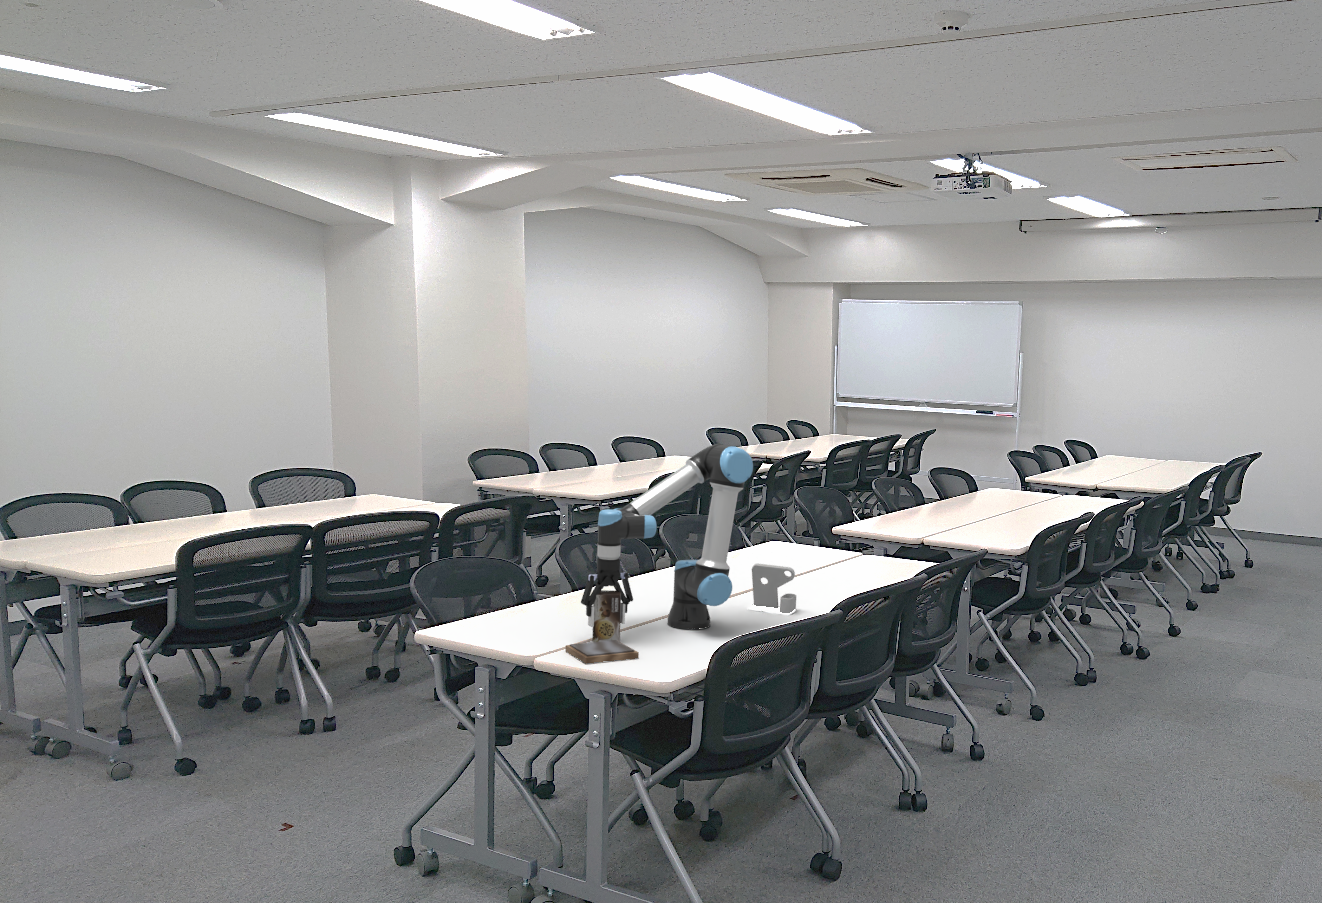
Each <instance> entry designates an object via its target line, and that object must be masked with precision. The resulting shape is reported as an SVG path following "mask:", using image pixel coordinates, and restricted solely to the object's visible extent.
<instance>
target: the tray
mask: <svg viewBox="0 0 1322 903" xmlns="http://www.w3.org/2000/svg"><path fill="white" fill-rule="evenodd" d="M565 651H566V652H565V653H567V652H568V653H569V655H570V654H571V655H570V656H572V655H573V656H575V657H576V658H578V659H580V660H581V661H583V662H584V663H593V664H595V663H594V662H602V663H604V662H603V661H612V662H615V661H614V660H621V661H627V660H626V659H630V660H636V659H635V658H638V659H639V655H640V654H639V651H637V650H635V648H634V649H633V648H632V647H630V646H628V645H626V644H624V643H623V642H621V641H620V642H619V641H617V640H610V641H599V642H591V641H590V642H589V641H588V642H581V643H579V642H578V643H570V644H567V645H565ZM568 653H567V654H568ZM573 656H572V657H573ZM575 657H574V658H575ZM576 658H575V659H576ZM578 659H577V660H578ZM580 660H579V661H580ZM581 661H580V662H581ZM583 662H582V663H583ZM584 663H583V664H584Z"/></svg>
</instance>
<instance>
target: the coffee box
mask: <svg viewBox="0 0 1322 903" xmlns="http://www.w3.org/2000/svg"><path fill="white" fill-rule="evenodd" d="M621 603H622V601H621V592H618V591H616V590H605V589H602V590H601V591H600V593H599V594H598V595H596V600H595V602H594V603H593V605H592V606H593V607H594V627H592V642H599V641H610V640H617V641H619V642H621V623H620V617H621Z"/></svg>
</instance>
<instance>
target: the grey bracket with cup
mask: <svg viewBox="0 0 1322 903" xmlns="http://www.w3.org/2000/svg"><path fill="white" fill-rule="evenodd" d="M785 572H789V573H790V576H788V575H787V574H785ZM795 576H796V571H795V569H794V568H792V567H789V566H783V565H782V566H781V565H775V564H774V565H773V564H764V563H754V565H753V566H752V568H751V579H752V596H753V604H754V605H756V606H766V607H774V608H778V607H780V612H782V613H790V612H792V611H793V610H794V609H796V610H797V594H795V593H785V594H783V595H781V596H780V600H779V595H778V594H779V591H778V588H779V587H782V586H783V585H786V584H787V583H789V582H792V581H793V580H794V578H795ZM763 578H764V579H766V580H767V583H763V582H762V579H763ZM779 601H780V602H779Z"/></svg>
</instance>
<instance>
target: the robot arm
mask: <svg viewBox="0 0 1322 903" xmlns="http://www.w3.org/2000/svg"><path fill="white" fill-rule="evenodd" d="M753 462H754V461H753V459H752V457H751V455H750V454H749V452H747V451H746V450H745V449H743V448H740V447H737V446H731V445H727V444H720V443H716V444H712V445H709V446H707V447H705V448H704V449H702V450H700V451H698V452H697V453H695V454H694V455H693V456H691V457H689V458H688V459H687V460H686V461H685V464H684V465H683V466H681V467H680V468H679V469H677V470H676V471H674V472H673V473H672V474H670V475H669V476H667V477H665V478H664V479H663V480H661V481H659V482H658V483H657V484H655V485H653V487H651V488H649V489H648V490H647V491H645V492H644V493H642V494H641V495H638V497H637V498H635V499H633V500H632V501H631V502H630V503H628V504H626V505H624V506H622V507H618V508H614V509H611V508H610V509H601V510H600V511H599V513H598V518H597V520H598V521H597V548H596V549H597V553H596V554H597V559H596V573H594V574H590V573H588V574H587V578H586V580H587V582H586V584H585V587H584V591H583V594H582V598H581V600H580V603H581V605H583V606H586V607H585V609H586V610H585V615H586V617H587V618H588V620H587V625H588V626H589V627H590V628H593V627H594V607H593V603H594V602H595V600H596V595H598V594H599V593H600V591H601V590H604V588H605V587H609V586H610V587H613V588H614V589H615V590H614V591H618V592H621V617H620V624H622V625H625V624H626V614H627V613H628V605H629V604H630V602H633V601H634V598H633V593H632V590H631V589H632V588H631V585H630V582H629V573H628V572H626V571H622V572H621V570H620V569H621V545H622V543H621V542H622V540H630V539H649V538H651V539H652V538H653V537H655V535H656V533H657V521H656V518H655V517H654V516H653V514H654V513H657V512H658V511H659V510H660V509H661V508H663V507H665V506H666V505H667V504H669V503H670V502H672V501H673V500H675V499H677V497H679V496H681V495H682V494H683V493H685V492H687V491H688V490H690V489H691V488H693V486H696V484H703V483H705V482H706V481H708V480H709V484H710V486H711V487H712V494H711V499H710V505H709V506H710V507H709V510H708V511H709V512H708V516H707V518H708V519H707V523H706V529H705V535H704V542H703V546H702V552H701V553H702V554H701V557H700V558H699V559H683V560H682V559H680V560H677V561H676V562H675V565H674V570H673V572H674V576H673V579H674V580H673V600H672V601H673V602H672V605H671V607H670V610H669V614H668V615H667V625H668V626H670V627H673V628H676V629H680V628H681V629H680V630H691V629H695V630H700V629H699V628H705V627H708V626H710V627H711V617H710V612H709V609H708V606H710V607H717V606H721V605H722V604H724V603H726V602H727V601H728V599H729V598H730V597H731V594H732V592H733V583H732V580H731V578H730V576H729V575H730V569H731V568H730V565H728V563H727V559H728V558H727V557H728V554H729V548H730V542H731V537H732V530H733V525H734V518H735V514H736V507H737V500H738V497H739V496H738V495H739V493H740V492H741V491H742V490H744V488H745V482H746V481H747V480H748V479H750V478H751V476H752V474H753V471H754V463H753ZM619 579H621V581H622V586H623V589H624V591H623V589H622V587H621V584H620V583H619ZM596 580H597V581H596ZM595 581H596V583H595ZM594 583H595V586H594ZM593 587H594V588H593ZM708 628H709V627H708ZM705 629H706V628H705Z"/></svg>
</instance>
